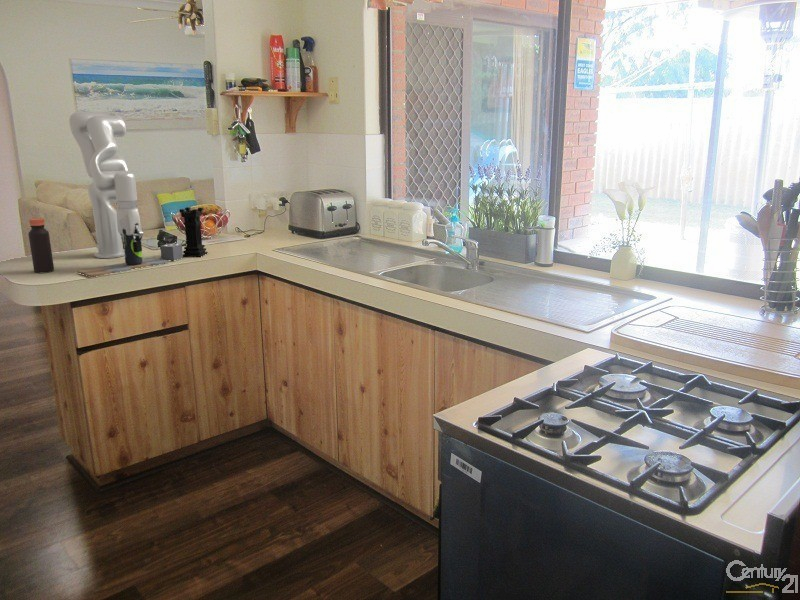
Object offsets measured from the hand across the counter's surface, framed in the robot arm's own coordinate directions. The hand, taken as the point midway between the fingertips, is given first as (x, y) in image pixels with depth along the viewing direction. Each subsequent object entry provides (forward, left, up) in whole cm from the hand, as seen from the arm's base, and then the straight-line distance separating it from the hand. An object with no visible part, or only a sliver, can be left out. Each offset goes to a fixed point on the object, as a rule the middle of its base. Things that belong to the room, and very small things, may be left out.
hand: (132, 250), depth 253 cm
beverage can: (0, 0, -6) cm, 6 cm away
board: (0, -4, -7) cm, 8 cm away
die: (0, +17, -7) cm, 18 cm away
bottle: (-19, -26, -7) cm, 33 cm away
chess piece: (0, +28, -7) cm, 29 cm away
